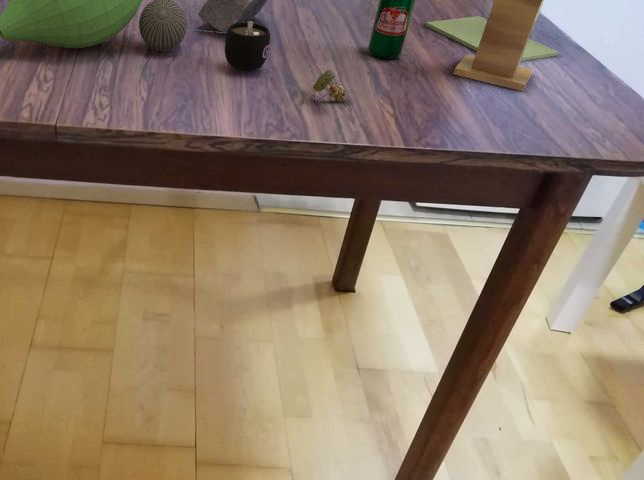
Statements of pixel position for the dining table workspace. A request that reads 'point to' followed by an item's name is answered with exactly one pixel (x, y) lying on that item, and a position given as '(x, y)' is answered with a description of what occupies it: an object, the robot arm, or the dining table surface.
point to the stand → (503, 45)
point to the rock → (229, 12)
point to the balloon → (66, 21)
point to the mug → (247, 46)
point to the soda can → (390, 28)
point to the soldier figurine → (326, 80)
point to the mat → (471, 33)
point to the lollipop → (163, 25)
